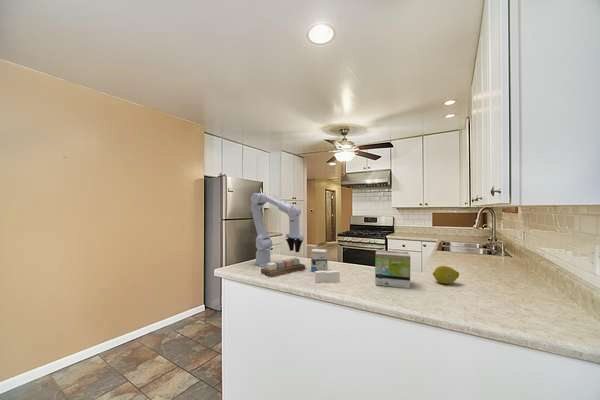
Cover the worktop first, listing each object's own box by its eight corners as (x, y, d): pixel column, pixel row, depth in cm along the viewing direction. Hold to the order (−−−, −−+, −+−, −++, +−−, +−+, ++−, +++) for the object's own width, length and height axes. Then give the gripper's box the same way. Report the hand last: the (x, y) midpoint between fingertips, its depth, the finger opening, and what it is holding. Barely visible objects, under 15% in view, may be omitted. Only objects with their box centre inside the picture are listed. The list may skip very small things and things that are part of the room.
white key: (266, 269, 135) (266, 263, 135) (272, 267, 138) (272, 262, 137) (270, 270, 132) (270, 265, 132) (276, 269, 134) (276, 263, 134)
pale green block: (289, 264, 145) (289, 258, 145) (295, 262, 147) (295, 257, 147) (294, 265, 142) (293, 260, 142) (299, 264, 144) (299, 259, 144)
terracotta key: (282, 265, 142) (282, 260, 142) (288, 264, 144) (288, 259, 144) (286, 267, 138) (286, 261, 138) (292, 265, 141) (292, 260, 141)
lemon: (432, 284, 116) (432, 267, 116) (432, 279, 123) (432, 263, 123) (460, 288, 111) (460, 270, 111) (458, 282, 118) (458, 265, 118)
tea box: (375, 285, 115) (374, 253, 115) (375, 279, 125) (375, 249, 124) (410, 289, 110) (410, 255, 110) (408, 281, 120) (407, 250, 120)
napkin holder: (344, 280, 124) (344, 269, 124) (337, 288, 114) (337, 275, 114) (316, 276, 131) (316, 265, 130) (307, 283, 120) (307, 271, 120)
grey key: (274, 267, 138) (274, 261, 138) (280, 266, 141) (280, 260, 141) (278, 268, 135) (278, 263, 135) (284, 267, 138) (284, 262, 138)
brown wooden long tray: (261, 273, 136) (260, 268, 136) (294, 265, 151) (294, 261, 151) (270, 277, 129) (270, 272, 128) (305, 269, 143) (305, 264, 143)
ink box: (310, 271, 138) (310, 250, 138) (312, 269, 142) (312, 248, 142) (326, 273, 135) (325, 251, 135) (327, 270, 140) (327, 249, 140)
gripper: (307, 228, 141) (307, 252, 141) (292, 226, 152) (292, 248, 153) (297, 229, 137) (298, 254, 137) (282, 227, 148) (282, 250, 148)
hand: (294, 251), depth 144 cm, fingers open, 5 cm apart
